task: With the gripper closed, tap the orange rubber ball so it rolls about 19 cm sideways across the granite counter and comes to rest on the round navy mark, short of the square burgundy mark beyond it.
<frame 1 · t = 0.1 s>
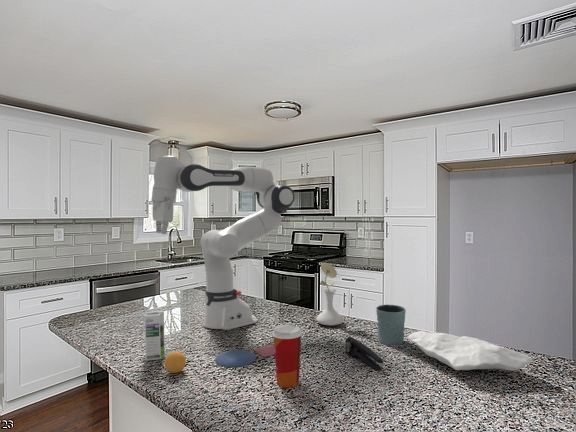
hand: (161, 233, 143), 39 cm above the countertop, tool pointing down, fingers open, 8 cm apart
coffee cup: (287, 383, 103), on the countertop
syrup box: (155, 357, 122), on the countertop
flower in vase: (329, 323, 155), on the countertop
crumpled cloth: (462, 367, 112), on the countertop
ball: (175, 362, 110), on the countertop
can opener: (363, 361, 117), on the countertop
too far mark: (269, 350, 126), on the countertop
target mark: (235, 358, 120), on the countertop
teal cup: (391, 342, 133), on the countertop
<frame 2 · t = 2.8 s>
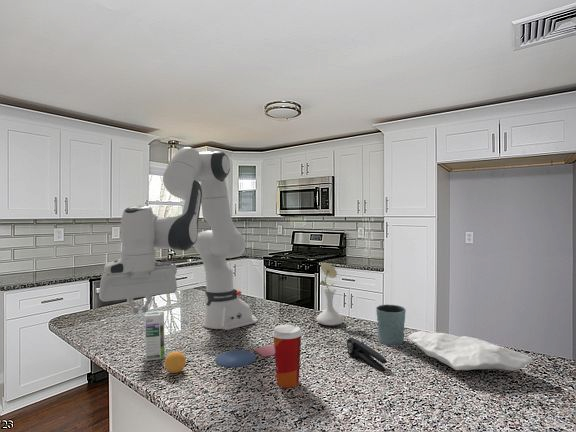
hand: (139, 312, 105), 19 cm above the countertop, tool pointing down, fingers closed
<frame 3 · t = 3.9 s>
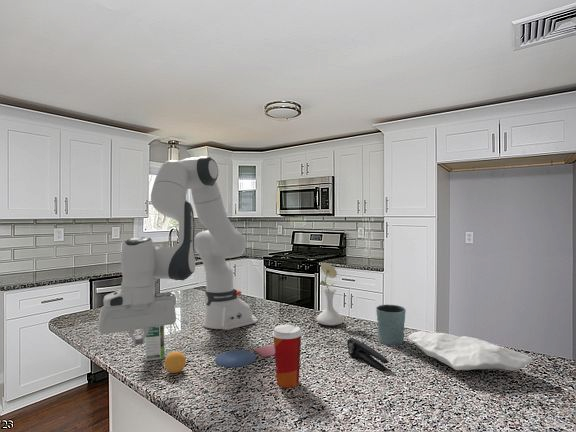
hand: (138, 344, 105), 10 cm above the countertop, tool pointing down, fingers closed
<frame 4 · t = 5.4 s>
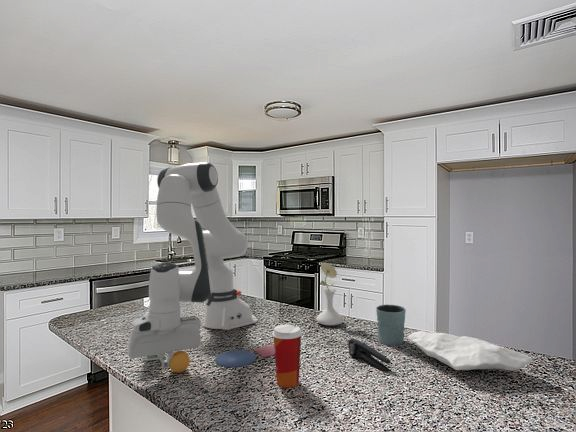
hand: (165, 367, 109), 2 cm above the countertop, tool pointing down, fingers closed
ball: (179, 361, 111), on the countertop, touching gripper
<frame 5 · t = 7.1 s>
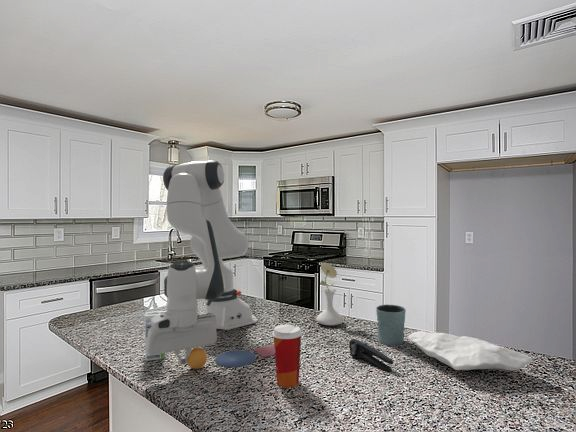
hand: (183, 363, 111), 2 cm above the countertop, tool pointing down, fingers closed
ball: (196, 358, 113), on the countertop, touching gripper
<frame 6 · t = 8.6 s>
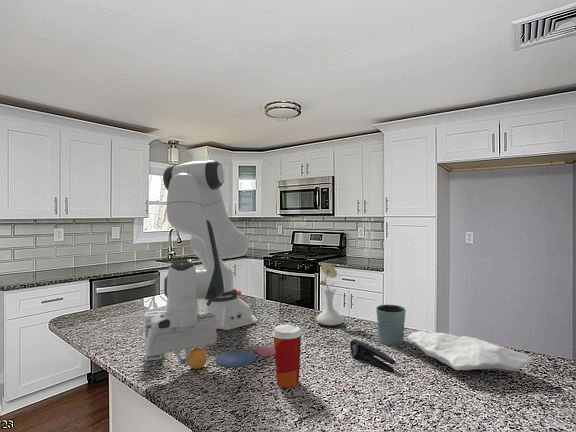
hand: (183, 363, 111), 2 cm above the countertop, tool pointing down, fingers closed
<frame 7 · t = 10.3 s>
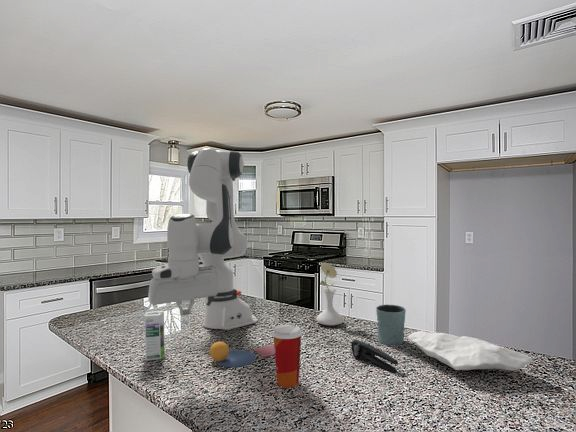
hand: (185, 314, 112), 17 cm above the countertop, tool pointing down, fingers closed
ball: (219, 351, 118), on the countertop
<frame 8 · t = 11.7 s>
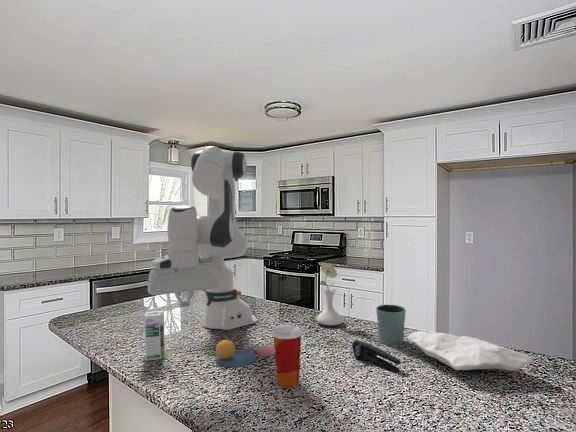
hand: (184, 306, 111), 19 cm above the countertop, tool pointing down, fingers closed
ball: (225, 349, 119), on the countertop
at the end: ball 3.3 cm from the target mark (horizontally); ball at rest at the end (0.0 cm/s); ball moved 16.1 cm from its start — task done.
